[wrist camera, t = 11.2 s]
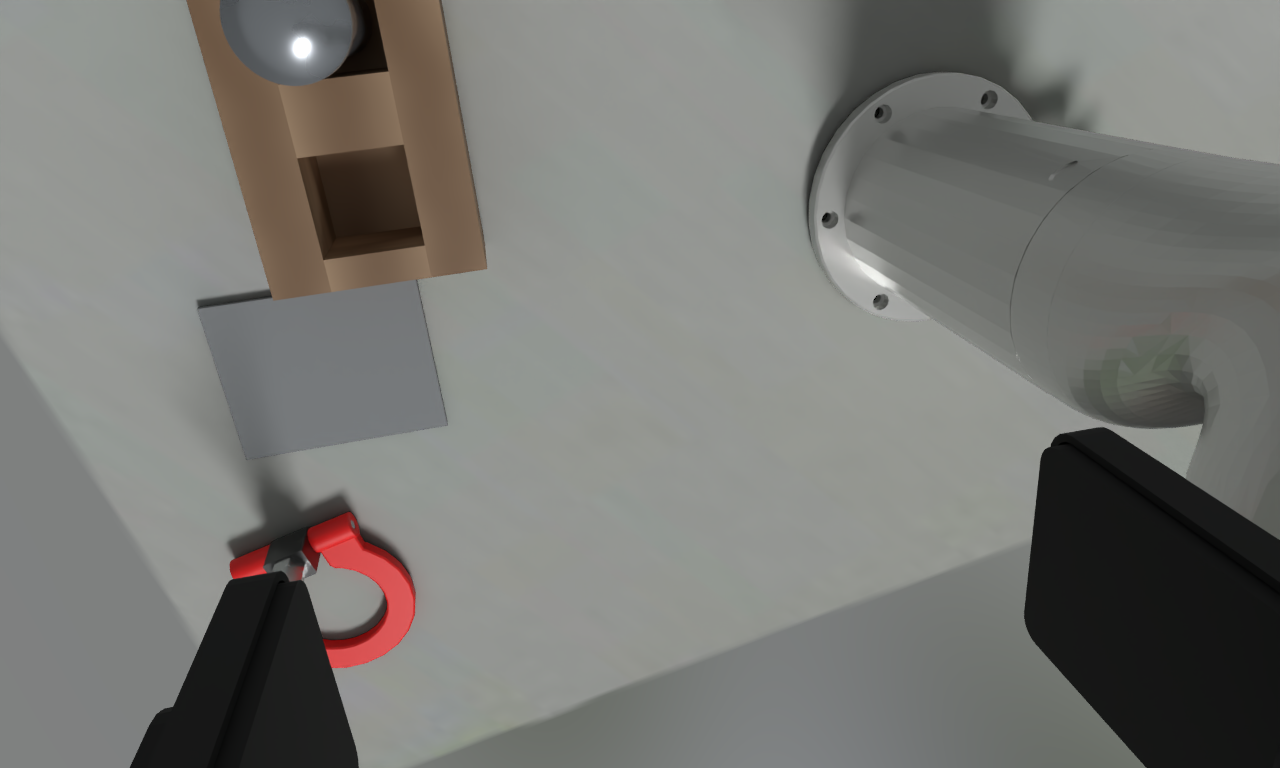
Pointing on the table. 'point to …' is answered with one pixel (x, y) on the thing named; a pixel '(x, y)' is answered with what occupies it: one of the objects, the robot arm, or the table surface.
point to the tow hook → (348, 552)
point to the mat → (325, 367)
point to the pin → (295, 36)
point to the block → (353, 157)
